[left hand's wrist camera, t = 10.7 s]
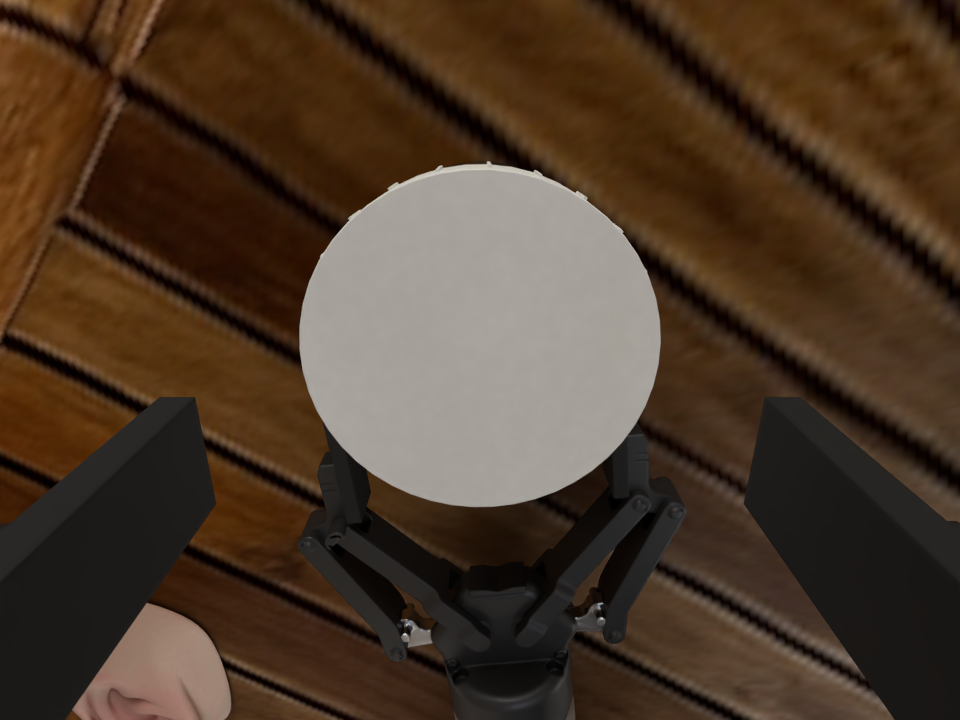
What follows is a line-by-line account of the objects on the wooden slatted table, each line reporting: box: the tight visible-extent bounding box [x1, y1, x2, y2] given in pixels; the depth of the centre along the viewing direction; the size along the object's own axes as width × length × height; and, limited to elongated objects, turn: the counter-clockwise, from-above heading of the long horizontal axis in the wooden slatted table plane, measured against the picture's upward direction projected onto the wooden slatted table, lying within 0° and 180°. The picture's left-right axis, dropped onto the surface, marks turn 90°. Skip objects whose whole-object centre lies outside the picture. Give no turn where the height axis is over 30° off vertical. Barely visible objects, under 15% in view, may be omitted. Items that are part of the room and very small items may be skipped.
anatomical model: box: [72, 603, 231, 720], centre depth 42 cm, size 13×4×12 cm
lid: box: [300, 162, 661, 507], centre depth 19 cm, size 11×11×2 cm
